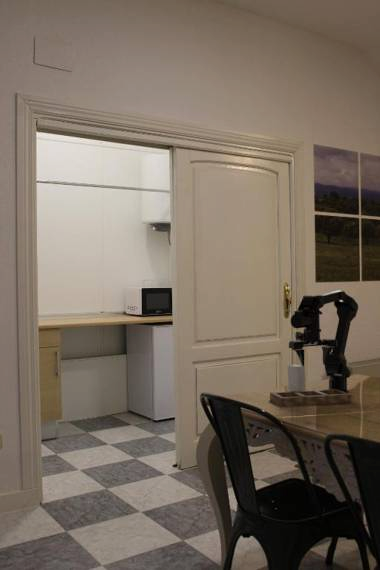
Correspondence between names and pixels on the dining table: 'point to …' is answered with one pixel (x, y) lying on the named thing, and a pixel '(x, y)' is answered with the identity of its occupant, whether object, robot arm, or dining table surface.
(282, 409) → the dining table surface
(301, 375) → the skincare box
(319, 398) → the rail
